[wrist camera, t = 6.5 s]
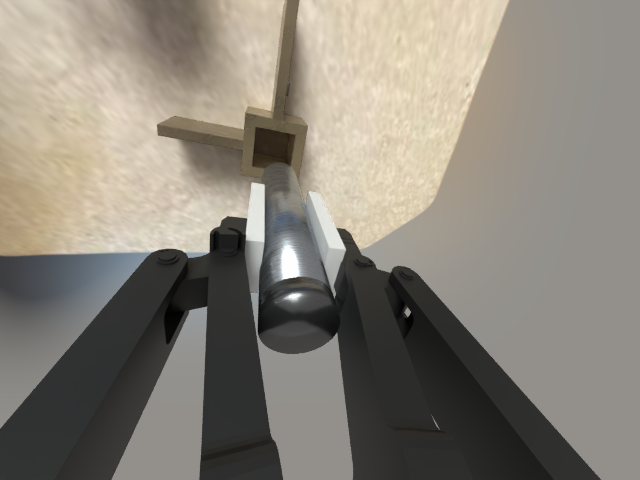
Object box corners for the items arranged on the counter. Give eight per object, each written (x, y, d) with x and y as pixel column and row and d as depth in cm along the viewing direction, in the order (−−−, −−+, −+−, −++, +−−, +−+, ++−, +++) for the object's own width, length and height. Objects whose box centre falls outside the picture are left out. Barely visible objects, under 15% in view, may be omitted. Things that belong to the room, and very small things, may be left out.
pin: (260, 193, 22) (253, 354, 9) (264, 159, 20) (262, 295, 8) (293, 198, 23) (329, 353, 10) (299, 165, 21) (349, 298, 9)
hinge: (176, 148, 32) (160, 162, 27) (167, -33, 24) (142, -61, 19) (292, 168, 36) (297, 183, 31) (318, 17, 28) (330, 5, 23)
